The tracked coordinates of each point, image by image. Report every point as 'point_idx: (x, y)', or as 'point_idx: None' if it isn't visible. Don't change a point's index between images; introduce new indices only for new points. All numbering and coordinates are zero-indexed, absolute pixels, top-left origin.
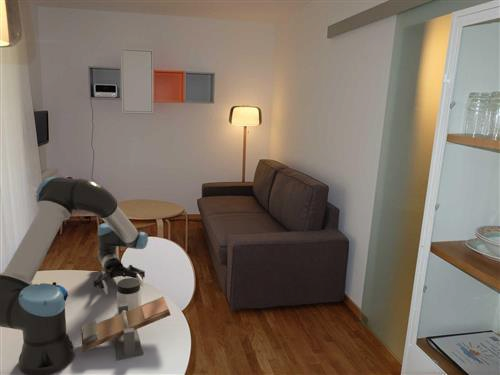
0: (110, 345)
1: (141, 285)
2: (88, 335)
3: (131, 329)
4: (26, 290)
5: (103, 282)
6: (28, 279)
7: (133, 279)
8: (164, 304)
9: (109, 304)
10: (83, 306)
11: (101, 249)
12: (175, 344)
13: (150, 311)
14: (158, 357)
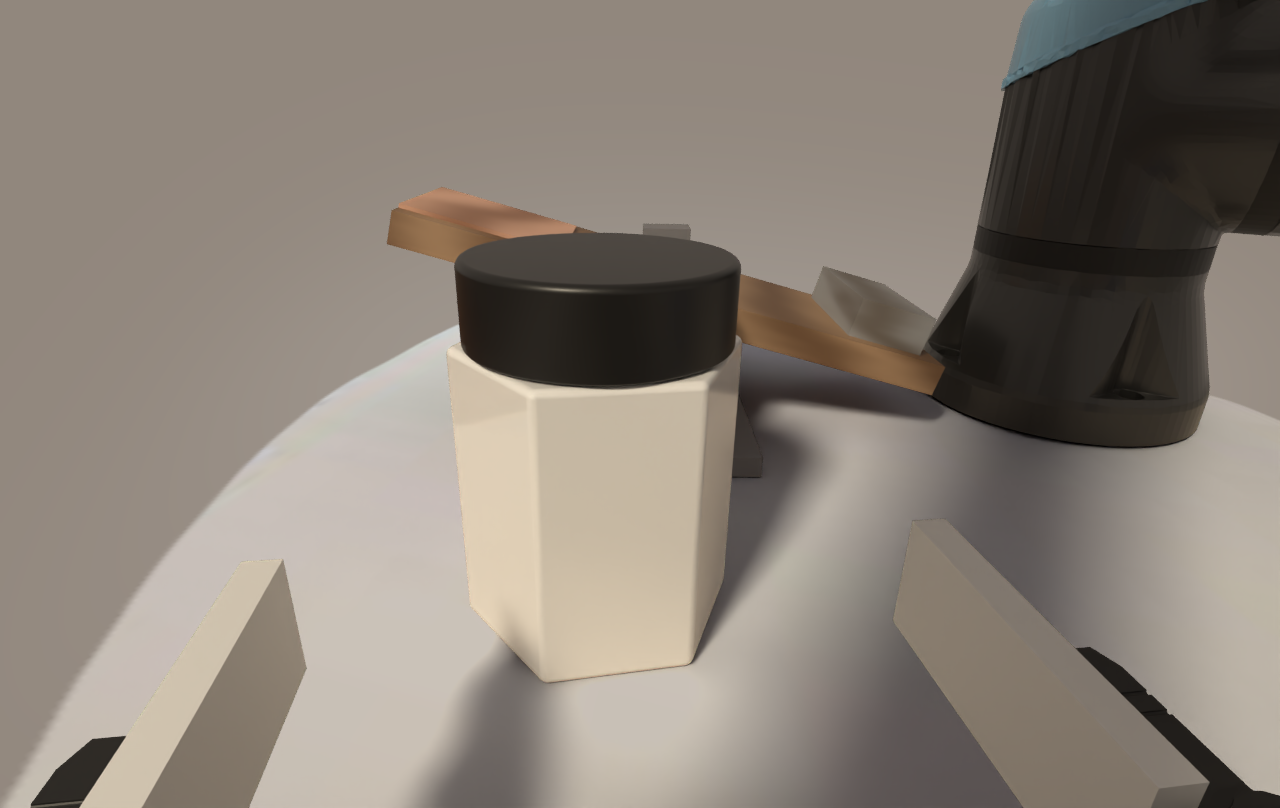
0: (752, 398)
1: (294, 648)
2: (862, 278)
3: (654, 226)
4: None
5: (1090, 674)
6: None
7: (518, 268)
8: (436, 197)
9: (849, 799)
10: None
11: None
12: (446, 359)
13: (530, 221)
14: None
